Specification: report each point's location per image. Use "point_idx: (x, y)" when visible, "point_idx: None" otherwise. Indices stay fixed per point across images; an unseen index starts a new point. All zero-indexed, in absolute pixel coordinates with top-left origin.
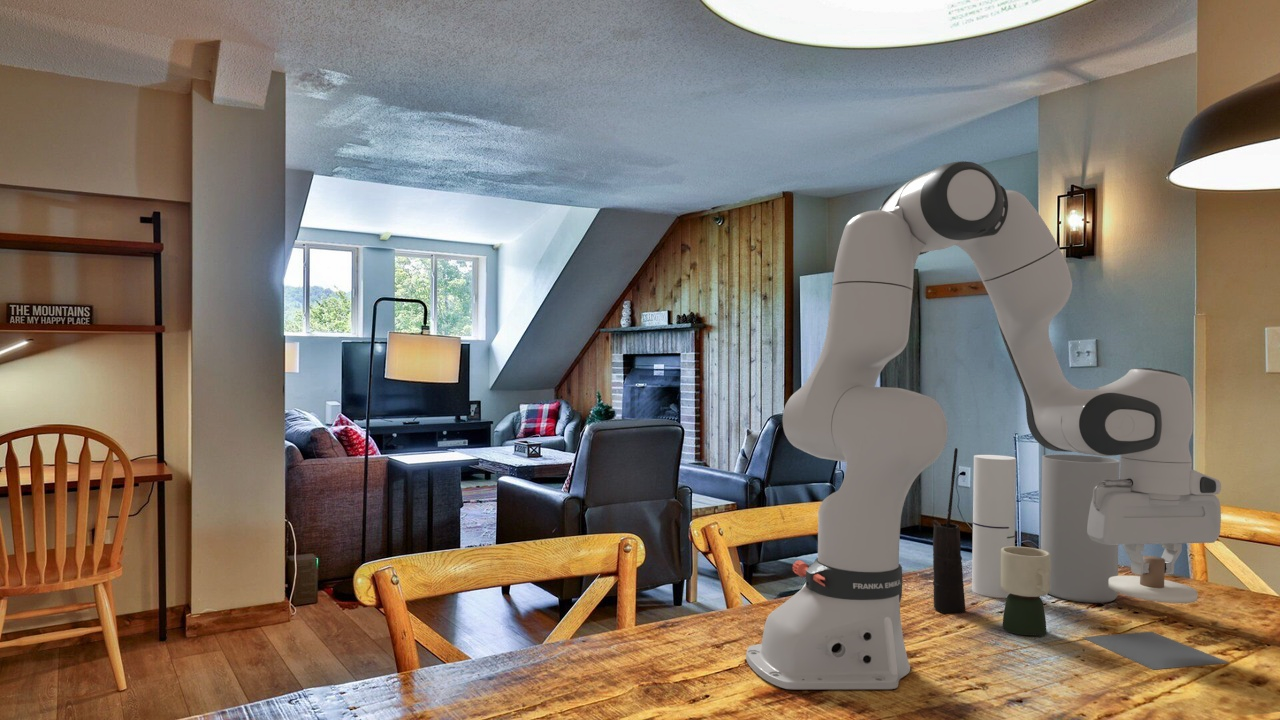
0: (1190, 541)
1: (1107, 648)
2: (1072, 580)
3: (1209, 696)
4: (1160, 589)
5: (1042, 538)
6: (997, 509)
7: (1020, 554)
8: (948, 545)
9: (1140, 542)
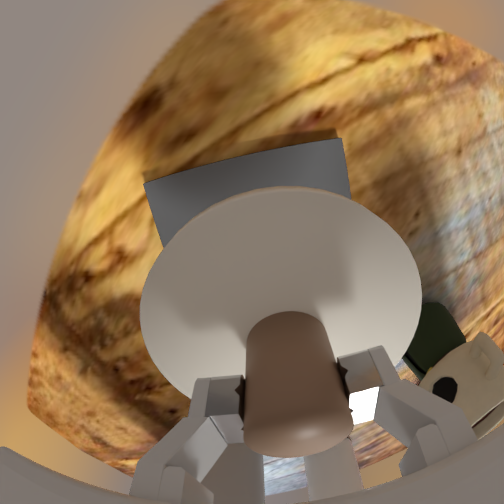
0: (84, 491)
1: None
2: (244, 462)
3: (297, 35)
4: (296, 294)
5: None
6: None
7: None
8: None
9: (497, 439)
